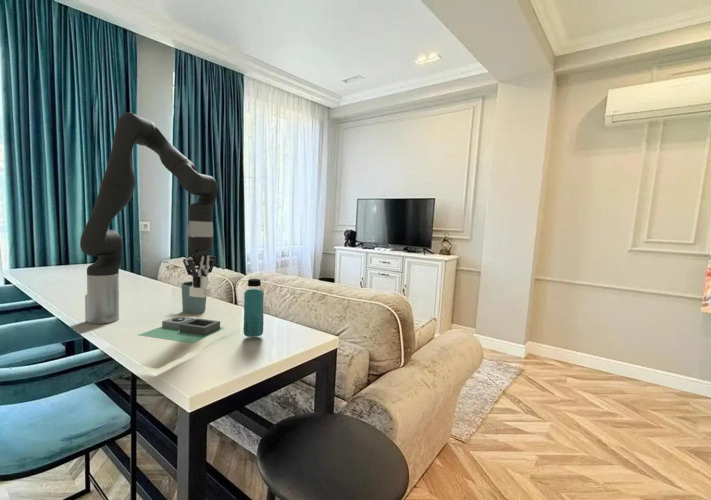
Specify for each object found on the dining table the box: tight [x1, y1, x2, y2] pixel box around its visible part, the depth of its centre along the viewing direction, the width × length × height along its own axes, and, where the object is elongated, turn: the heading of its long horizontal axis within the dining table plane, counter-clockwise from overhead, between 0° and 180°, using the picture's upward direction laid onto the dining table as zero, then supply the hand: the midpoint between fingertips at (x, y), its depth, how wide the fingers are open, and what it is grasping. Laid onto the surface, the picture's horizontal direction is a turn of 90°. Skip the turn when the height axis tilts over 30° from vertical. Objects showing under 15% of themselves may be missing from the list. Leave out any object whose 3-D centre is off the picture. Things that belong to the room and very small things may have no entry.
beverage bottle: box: [242, 278, 265, 338], centre depth 111 cm, size 6×7×20 cm
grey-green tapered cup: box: [180, 280, 208, 315], centre depth 139 cm, size 10×10×12 cm
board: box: [138, 315, 225, 344], centre depth 110 cm, size 20×16×4 cm
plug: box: [189, 275, 212, 298], centre depth 111 cm, size 6×4×6 cm
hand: (200, 286), depth 111 cm, fingers closed on plug, 2 cm apart
